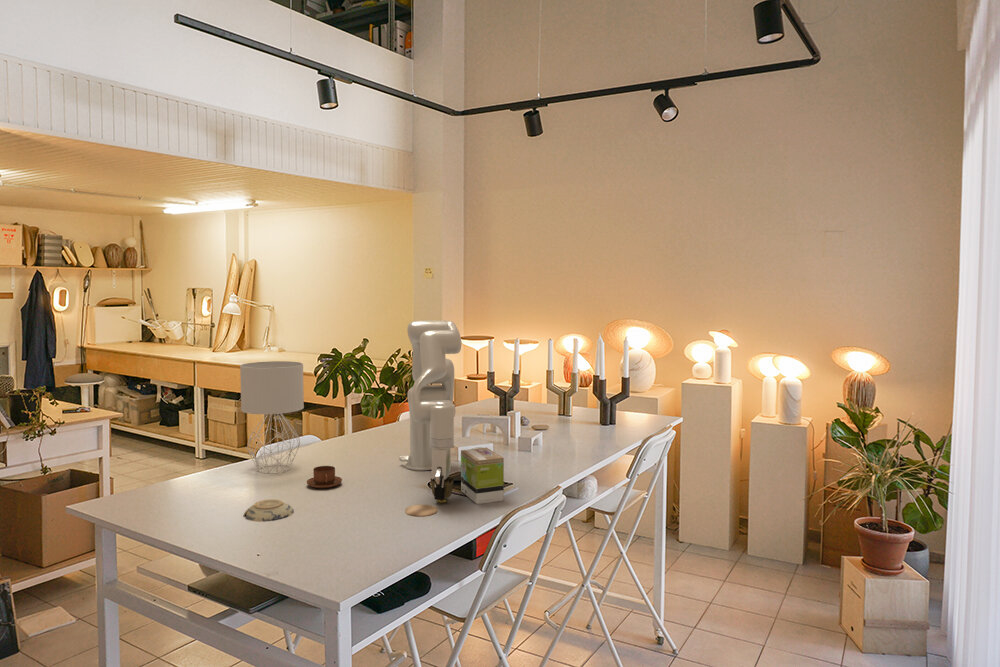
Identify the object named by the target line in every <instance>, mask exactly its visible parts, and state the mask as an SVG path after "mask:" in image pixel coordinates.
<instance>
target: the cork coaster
mask: <svg viewBox="0 0 1000 667" xmlns="http://www.w3.org/2000/svg"><path fill="white" fill-rule="evenodd" d="M404 511H405V514H406V515H408V516H413V517H428V516H432V515H434V514H437V512H438V507H437V506H435V505H432V504H425V503H424V504H413V505H409V506H407V507H406V508H405V510H404Z"/></svg>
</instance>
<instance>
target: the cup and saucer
mask: <svg viewBox="0 0 1000 667" xmlns="http://www.w3.org/2000/svg"><path fill="white" fill-rule="evenodd" d="M342 480H343V478H342V477H340V476H336V468H335V466H332V465H320V466H319V465H318V466H316V467H314V468H313V477H311V478H309V479H307V480H306V483H307V485H308V486H309V487H311V488H316V489H329V488H333V487H336V486H338V485H340V484H341V483H342Z"/></svg>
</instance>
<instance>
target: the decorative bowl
mask: <svg viewBox="0 0 1000 667" xmlns="http://www.w3.org/2000/svg"><path fill="white" fill-rule="evenodd" d="M294 513H295V512H294V509H293V507H292V506H291V505H290V504H288V503H286V502H285V501H282V500H280V499H271V498H270V499H262V500H259V501H257V502H255V503H254V504H252V505H251V506H249V507H248V508H247V509H246V510H245V512H244V513H243V515H242V516H243V517H244V518H245V520H247V521H250V522H259V523H263V522H274V521H279V520H283V519H286V518H288V517H291V516H292V515H293V514H294Z"/></svg>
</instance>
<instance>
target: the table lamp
mask: <svg viewBox="0 0 1000 667" xmlns="http://www.w3.org/2000/svg"><path fill="white" fill-rule="evenodd" d="M239 368H240V370H239V371H240V411H241V412H242V413H245V414H250V415H263V416H262V418H261V420H260V421H259V422H258V423H257V425H256V427H254V429H253V431H252V432H251V434H250V437H249V439H248V441H247V446H246V449H247V450H246V451H247V452H248V453H249V456H250V459H251V460H252V461H253V464H254V465H255V467H256V469H257V471H258V472H259V473H262V474H265V472H266V474H269V475H270V474H271V471H272V470H273V468H274V467H276V470H279V469H278V468H279V467H281V469H282V470H283V471H280V472H278V471H277V474H279V473H286V472H287V471H289V470H290V469H291V467H292V465H293V463H294V460H295V458H296V457H297V456H296V455H297V453H298V451H299V448H300V445H301V440H300V437H299V434H298V433H297V431H296V429H295V427H294V426H293V425H292V424H291V423H290V421H289V420H288V419H287V418H286V417H285V415H284V414H288V413H289V414H291V413H294V412H299V411H302V410H304V408H305V405H304V403H305V402H304V399H305V397H304V393H305V392H304V363H303V362H299V361H289V360H285V361H284V360H282V361H281V360H280V361H279V360H278V361H277V360H273V361H257V362H256V361H255V362H246V363H242V364H240V366H239ZM268 415H269V420H268V423H267V427H266V431H264V432H263V433H261V431H262V430H261V429H262V428H263V426H264V423H265V421H266V419H267V417H268ZM273 416H276V417H274V423H275V425H277V420H278V422H279V425H280V429H281V432H279V431H278V429H277V426H275V429H274V428H272V424H270V422H272V420H273ZM281 417H282V419H283V420H284V422H285V423H286V425H287V426H288V430H287V429H286V427H285V425H284V422H283V420H282V419H281ZM276 418H277V420H276ZM262 420H263V421H262ZM261 422H262V423H261ZM281 423H282V424H281ZM260 424H261V426H260V427H259V425H260ZM269 425H270V427H269ZM257 427H259V429H258V430H257V432H255V430H256V429H257ZM282 427H283V428H284V431H285V432H283V428H282ZM271 430H273V431H274V432H276V434H279V435H282V436H284V435H285V434H287V438H288V440H286V439H284V438H283V437H281V436H279V435H276V436H275V437H273V438H272V439H270V440H269V441H268V442H267V443H266V441H264V442H262V440H261V439H260V437H261V436H263V434H265V435H264V436H265V437H264V440H266V438H267V432H268V431H269V435H271V434H272V433H271ZM288 431H290V432H291V435H292V436H291V438H290V437H289V434H288ZM253 435H255V436H254V437H253ZM294 436H295V437H294ZM256 438H257V440H258V441H257V444H256V446H255V449H254V448H251V441H253V443H252V447H254V444H255V442H256ZM275 438H276V440H277V441H276V442H277V445H276V446H274V448H272V447H271V445H272V444H271V442H272V441H273V440H274V439H275ZM279 438H280V439H281V442H279ZM295 438H296V441H297V442H298V443H297V445H296V446H295V445H294V444H295V442H293V443H292V439H293V440H295ZM253 439H254V440H253ZM281 443H282V447H281V450H283V448H284V445H285V446H286V447H287V448H288V451H287V452H286V453H284V454H283V451H281V453H280V457H279V458H277V457H275V455H274V454H273V452H272V451H273V450H274V449H276V448H278V447H279V446H280V444H281ZM287 443H288V444H289V446H288V445H287ZM291 443H292V444H291ZM268 444H269V447H270V448H267V447H265V446H267V445H268ZM291 445H292V446H291ZM260 446H261V447H263V449H267V451H269V454H268V453H267V452H266V451H261V448H260ZM294 446H295V447H294ZM257 447H258V449H259V453H260V455H259V456H258V458H257V457H256V455H255V453H256V450H257ZM296 448H297V450H296V451H295V454H294V452H293V451H294V450H295V449H296ZM277 454H279V449H277ZM282 454H283V455H282ZM262 455H264V459H263V456H262ZM266 455H267V456H268V457H267V459H266ZM286 455H287V456H286ZM292 455H293V457H292ZM284 456H286V457H285V458H284V459H283V457H284ZM260 457H261V460H262V462H261V460H259V458H260ZM269 457H270V460H271V463H273V459H274V460H275V461H276V462H275V463H274V465H273V464H271V465H268V464H267V463H268V461H269ZM291 458H292V459H291ZM282 459H283V461H282ZM286 459H287V461H286V464H285V466H284V465H282V464H283V463H284V462H285V460H286ZM264 460H265V462H264ZM279 461H280V462H279ZM270 467H272V468H271V469H270V470H269V468H270ZM262 469H263V470H265V472H263V471H262Z"/></svg>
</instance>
